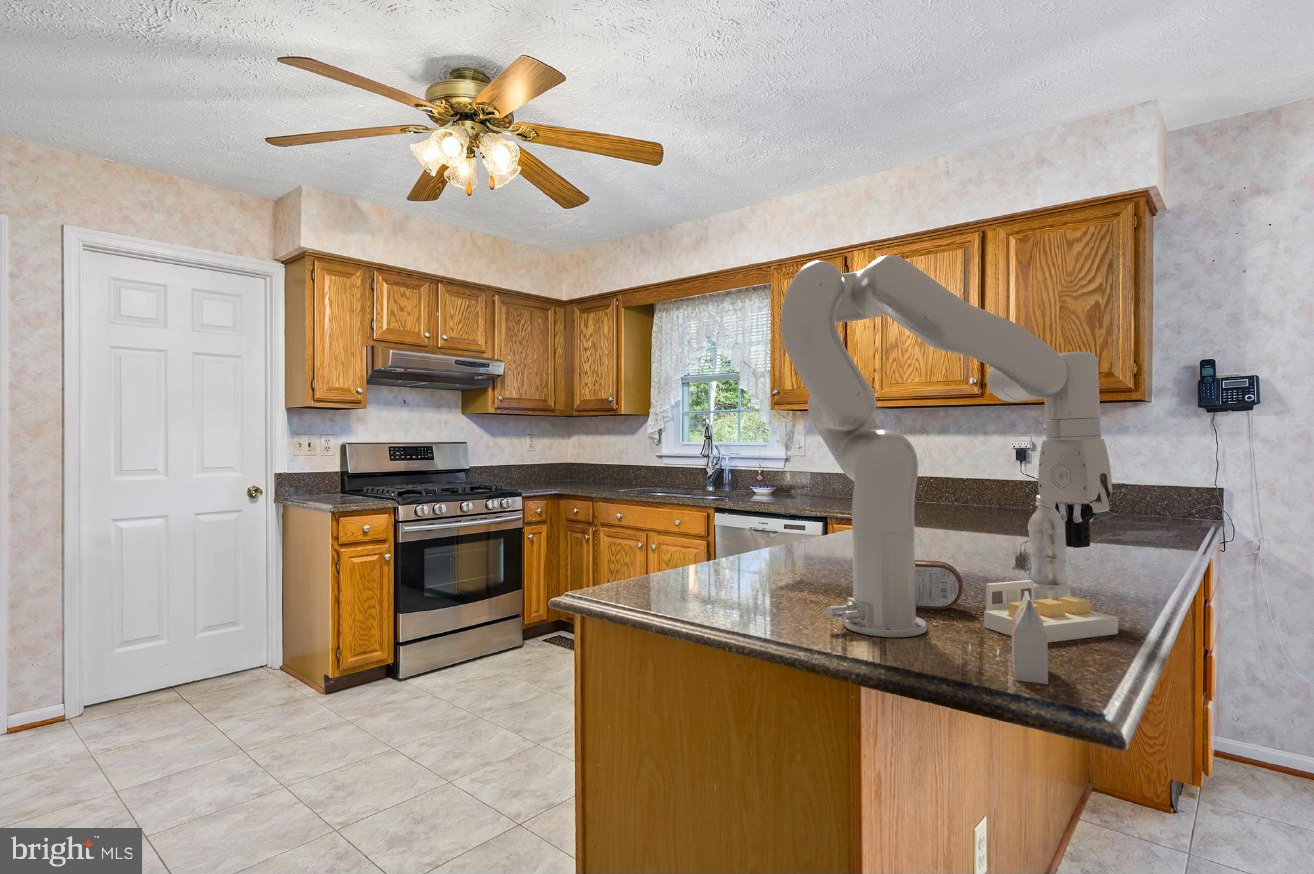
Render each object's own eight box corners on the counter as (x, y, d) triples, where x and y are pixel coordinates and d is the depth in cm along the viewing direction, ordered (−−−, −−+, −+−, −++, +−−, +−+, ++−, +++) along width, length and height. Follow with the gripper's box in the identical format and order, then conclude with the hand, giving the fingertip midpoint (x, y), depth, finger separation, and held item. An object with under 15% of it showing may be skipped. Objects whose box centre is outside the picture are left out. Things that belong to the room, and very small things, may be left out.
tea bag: (1043, 667, 93) (1042, 591, 93) (1048, 683, 87) (1046, 602, 87) (1012, 664, 95) (1011, 589, 95) (1014, 680, 88) (1013, 599, 88)
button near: (1023, 628, 107) (1023, 606, 107) (1008, 623, 110) (1008, 602, 110) (1039, 626, 108) (1039, 605, 108) (1024, 621, 111) (1023, 601, 111)
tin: (962, 608, 126) (962, 560, 126) (964, 612, 123) (963, 563, 123) (874, 602, 131) (873, 557, 131) (873, 606, 128) (873, 559, 128)
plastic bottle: (1059, 606, 126) (1058, 493, 126) (1078, 615, 120) (1076, 496, 120) (1022, 605, 127) (1020, 494, 127) (1038, 614, 120) (1036, 497, 120)
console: (1034, 643, 104) (1034, 626, 104) (984, 626, 113) (984, 611, 113) (1118, 633, 108) (1117, 617, 108) (1062, 618, 118) (1062, 603, 118)
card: (990, 621, 116) (990, 584, 116) (986, 619, 117) (985, 583, 117) (1034, 616, 119) (1033, 580, 119) (1029, 615, 120) (1029, 579, 120)
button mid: (1049, 625, 109) (1049, 604, 109) (1034, 620, 112) (1033, 600, 112) (1065, 623, 110) (1065, 602, 110) (1049, 618, 113) (1048, 598, 113)
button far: (1075, 622, 110) (1075, 601, 110) (1059, 617, 113) (1058, 597, 113) (1090, 620, 111) (1089, 600, 111) (1073, 616, 114) (1073, 596, 114)
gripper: (1017, 432, 118) (1021, 542, 118) (1096, 430, 104) (1102, 555, 104) (1052, 431, 121) (1057, 539, 120) (1135, 428, 106) (1140, 551, 106)
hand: (1078, 546), depth 112 cm, fingers closed
